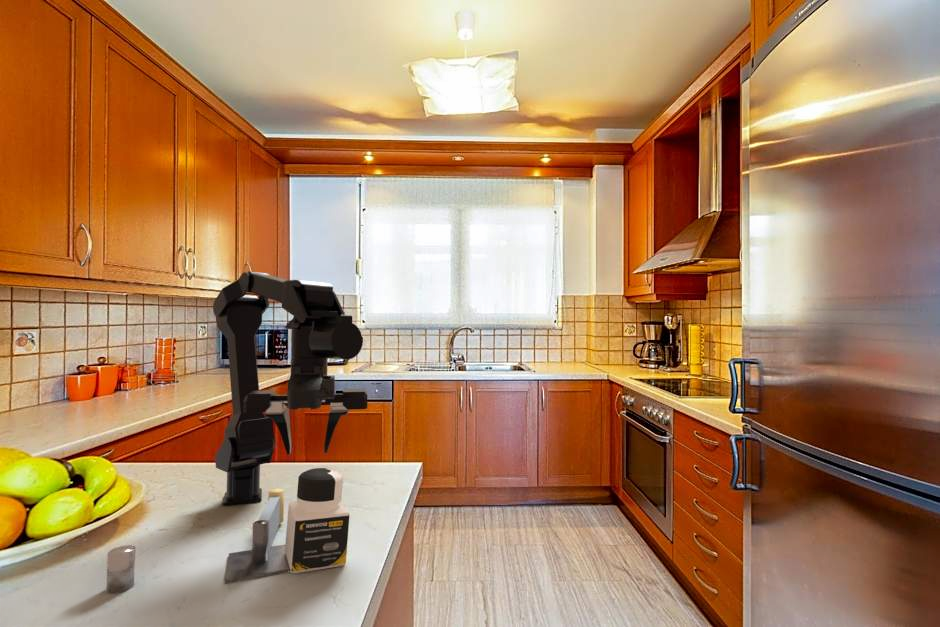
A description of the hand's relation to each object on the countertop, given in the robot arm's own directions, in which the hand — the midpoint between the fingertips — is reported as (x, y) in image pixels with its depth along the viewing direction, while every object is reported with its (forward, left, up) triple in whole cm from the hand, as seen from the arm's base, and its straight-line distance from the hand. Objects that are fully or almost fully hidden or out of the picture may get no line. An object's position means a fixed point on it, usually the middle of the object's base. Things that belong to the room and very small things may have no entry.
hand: (307, 453), depth 78 cm
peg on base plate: (+10, -7, -12) cm, 17 cm away
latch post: (+10, -23, -12) cm, 27 cm away
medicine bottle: (+12, 0, -12) cm, 17 cm away
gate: (+2, -5, -11) cm, 13 cm away
